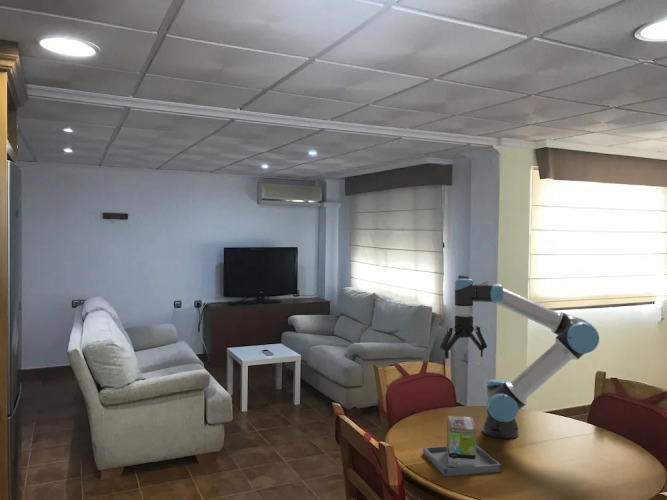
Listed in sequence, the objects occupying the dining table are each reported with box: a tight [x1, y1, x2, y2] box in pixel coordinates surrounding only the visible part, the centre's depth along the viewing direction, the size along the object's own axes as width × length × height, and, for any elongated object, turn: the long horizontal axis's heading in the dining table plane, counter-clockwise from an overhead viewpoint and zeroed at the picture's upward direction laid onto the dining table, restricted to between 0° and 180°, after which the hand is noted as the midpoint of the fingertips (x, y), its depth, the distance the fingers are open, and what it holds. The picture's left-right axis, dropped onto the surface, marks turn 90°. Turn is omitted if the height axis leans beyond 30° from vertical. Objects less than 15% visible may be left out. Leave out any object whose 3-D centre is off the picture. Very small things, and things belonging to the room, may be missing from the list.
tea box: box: [446, 415, 477, 467], centre depth 205 cm, size 15×10×15 cm, turn 171°
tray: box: [422, 444, 502, 477], centre depth 205 cm, size 22×21×2 cm
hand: (463, 365), depth 228 cm, fingers open, 13 cm apart
